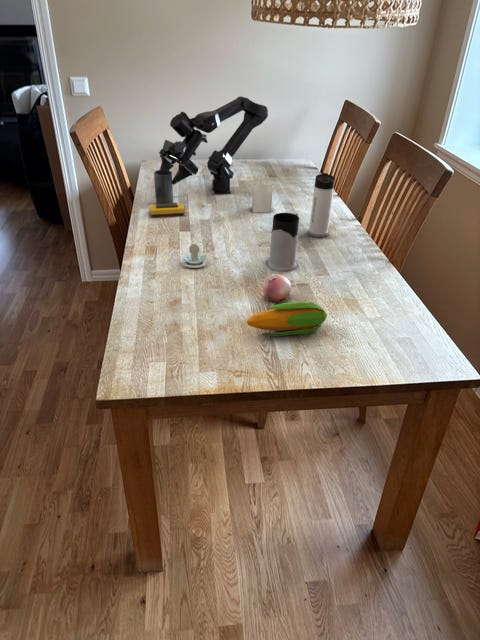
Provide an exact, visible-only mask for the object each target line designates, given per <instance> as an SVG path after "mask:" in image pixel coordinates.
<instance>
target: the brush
mask: <svg viewBox="0 0 480 640" xmlns="http://www.w3.org/2000/svg"><path fill="white" fill-rule="evenodd" d="M149 212H150V215H151V218H165V217H167V218H168V217H183V216H185V212H186V211H185V206H184V204H183V202H173V203H164V204H156V203H155V204H149Z"/></svg>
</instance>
